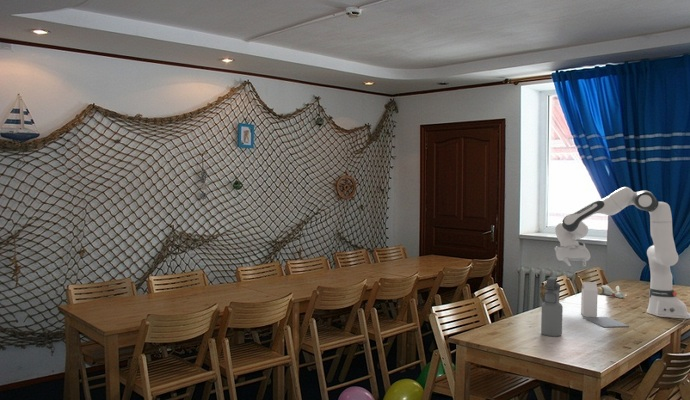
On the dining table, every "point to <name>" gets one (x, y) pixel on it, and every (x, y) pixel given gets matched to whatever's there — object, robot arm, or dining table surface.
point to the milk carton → (589, 299)
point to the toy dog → (610, 291)
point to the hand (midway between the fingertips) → (577, 265)
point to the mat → (605, 322)
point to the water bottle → (551, 309)
